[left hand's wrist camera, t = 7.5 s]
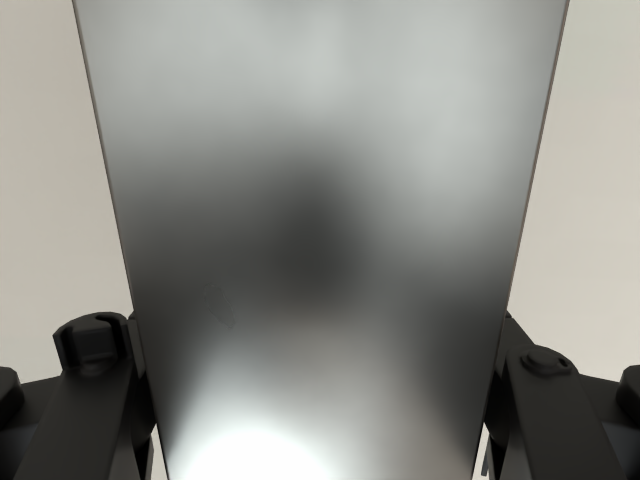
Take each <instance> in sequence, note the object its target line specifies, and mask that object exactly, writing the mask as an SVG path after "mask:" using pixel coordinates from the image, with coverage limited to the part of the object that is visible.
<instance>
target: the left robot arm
mask: <svg viewBox="0 0 640 480" xmlns="http://www.w3.org/2000/svg"><path fill="white" fill-rule="evenodd" d="M52 336H53V339H54V342H55V346H56V349H57V352H58V356H59V359H60V363H61V366H62V369H63V371H62V373H61V375H60V376H57V377H53V378H48V379H43V380H38V381H34V382H29V383H24V384H20V381H19V378H18V375H17V372H16V371H14V370H13V369H11V368H9V367H0V480H151V472H152V463H153V454H154V448H153V442H152V437H151V433H152V430H153V428H154V426H155V424H156V419H155V414H154V409H153V404H152V399H151V394H150V389H149V384H148V379H147V374H146V369H145V364H144V359H143V354H142V349H141V344H140V339H139V334H138V329H137V324H136V319H135V314H134V311H133V312H132V314H131V315H130V316H129V317H128V320H127V319H126V317H124V316H123V315H121V314H119V313H114V312H97V313H93V314H88V315H84V316H81V317H79V318H76V319H74V320H71V321H69V322H68V323H66V324H64V325H63V326H61V327H60V328H59V329H58V330H57V331H56V332H55V333H54V334H53V335H52ZM484 423H485V425H486V427H487V429H488V431H489V437H488V442H487V447H486V451H485V456H484V461H483V466H482V471H481V475H482V476H486V475H487V471H489V480H640V365H633V366H629V367H628V368H626V369H625V370H624V371H623V374H622V377H621V380H620V382H615V381H610V380H605V379H600V378H595V377H590V376H586V375H582V374H579V372H578V370H577V368H576V367H575V366H574V364H573V363H572V362H571V361H570V360H569V359H567V358H566V357H565V356H563V355H562V354H560V353H558V352H556V351H554V350H552V349H549V348H547V347H543V346H539V345H535V344H534V343H533V342H532V340H531V339H530V338H529V337H528V335H527V334H526V333H525V332H524V331H523V329H522V328H521V327H520V326H519V324H518V323H517V322H516V321H515V320H514V318H512V316H511V315H510V313H509V312H508V311H507V310H506V315H505V320H504V325H503V330H502V335H501V340H500V345H499V350H498V355H497V360H496V365H495V369H494V374H493V379H492V384H491V389H490V394H489V399H488V404H487V409H486V414H485V419H484Z"/></svg>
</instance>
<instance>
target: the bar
mask: <svg viewBox="0 0 640 480" xmlns="http://www.w3.org/2000/svg"><path fill="white" fill-rule="evenodd" d="M569 1H570V0H72V3H73V8H74V13H75V18H76V23H77V28H78V33H79V38H80V43H81V48H82V53H83V58H84V63H85V68H86V73H87V78H88V83H89V88H90V93H91V98H92V103H93V108H94V113H95V118H96V123H97V129H98V134H99V139H100V144H101V149H102V154H103V159H104V164H105V169H106V174H107V179H108V184H109V189H110V194H111V199H112V204H113V209H114V214H115V219H116V224H117V229H118V234H119V239H120V244H121V249H122V254H123V259H124V264H125V269H126V274H127V279H128V284H129V289H130V294H131V299H132V304H133V309H134V314H135V319H136V324H137V329H138V334H139V339H140V344H141V349H142V354H143V359H144V364H145V369H146V374H147V379H148V384H149V389H150V394H151V399H152V404H153V409H154V414H155V419H156V424H157V429H158V434H159V439H160V444H161V449H162V454H163V459H164V464H165V469H166V474H167V479H168V480H472V477H473V473H474V468H475V463H476V458H477V453H478V448H479V443H480V438H481V433H482V428H483V423H484V419H485V414H486V409H487V404H488V399H489V394H490V389H491V384H492V379H493V374H494V369H495V365H496V360H497V355H498V350H499V345H500V340H501V335H502V330H503V325H504V320H505V315H506V310H507V306H508V301H509V296H510V291H511V286H512V281H513V276H514V271H515V266H516V261H517V256H518V252H519V247H520V242H521V237H522V232H523V227H524V222H525V217H526V212H527V207H528V202H529V197H530V193H531V188H532V183H533V178H534V173H535V168H536V163H537V158H538V153H539V148H540V143H541V139H542V134H543V129H544V124H545V119H546V114H547V109H548V104H549V99H550V94H551V89H552V85H553V80H554V75H555V70H556V65H557V60H558V55H559V50H560V45H561V40H562V35H563V30H564V26H565V21H566V16H567V11H568V6H569Z"/></svg>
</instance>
